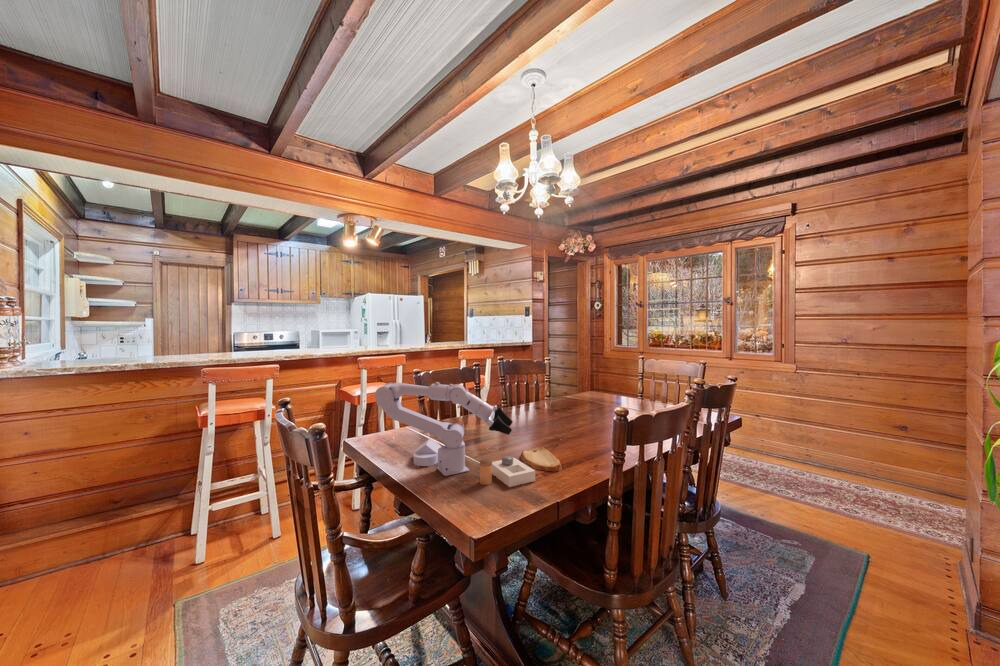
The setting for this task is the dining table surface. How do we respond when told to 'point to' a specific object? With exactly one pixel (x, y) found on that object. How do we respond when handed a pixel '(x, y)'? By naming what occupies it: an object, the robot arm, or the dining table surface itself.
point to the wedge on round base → (427, 453)
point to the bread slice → (541, 459)
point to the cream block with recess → (512, 471)
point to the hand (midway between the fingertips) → (510, 427)
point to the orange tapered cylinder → (485, 472)
